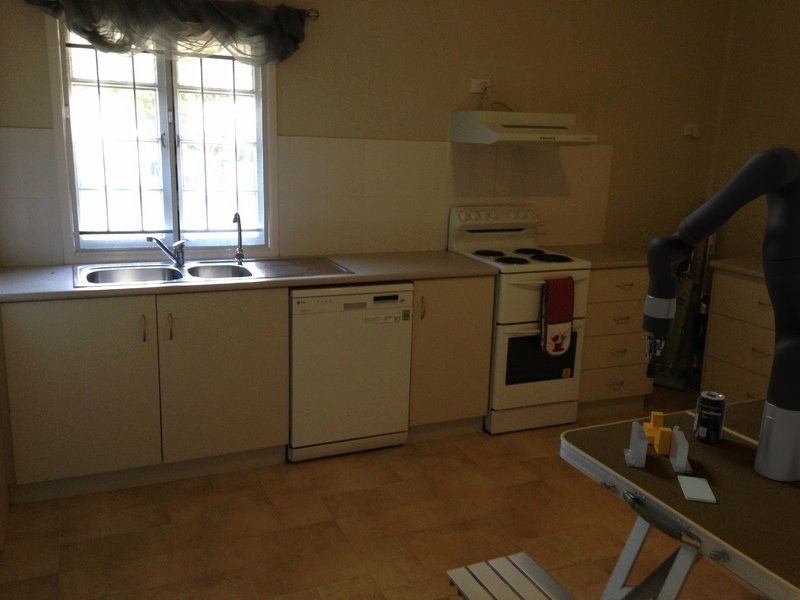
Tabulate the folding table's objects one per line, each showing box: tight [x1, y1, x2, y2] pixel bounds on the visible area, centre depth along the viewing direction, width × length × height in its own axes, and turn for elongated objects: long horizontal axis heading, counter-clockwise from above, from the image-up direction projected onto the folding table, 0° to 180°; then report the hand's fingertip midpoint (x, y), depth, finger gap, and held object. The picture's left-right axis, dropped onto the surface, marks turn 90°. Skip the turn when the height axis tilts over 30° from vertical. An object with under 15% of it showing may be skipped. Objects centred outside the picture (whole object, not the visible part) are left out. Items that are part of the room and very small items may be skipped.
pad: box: [677, 475, 717, 504], centre depth 158 cm, size 6×10×1 cm, turn 169°
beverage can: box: [692, 390, 727, 444], centre depth 184 cm, size 7×7×12 cm
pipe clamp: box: [642, 411, 673, 456], centre depth 180 cm, size 12×4×6 cm, turn 171°
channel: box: [623, 420, 693, 475], centre depth 171 cm, size 14×11×7 cm
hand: (650, 376), depth 188 cm, fingers closed
